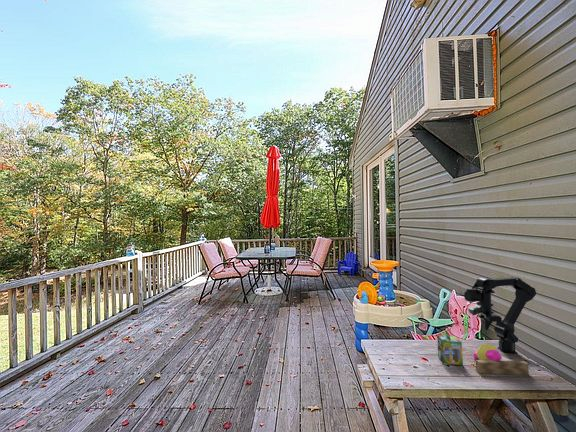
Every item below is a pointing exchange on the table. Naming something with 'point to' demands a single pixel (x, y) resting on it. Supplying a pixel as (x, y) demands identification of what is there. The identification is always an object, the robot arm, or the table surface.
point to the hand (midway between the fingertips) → (486, 329)
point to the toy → (487, 353)
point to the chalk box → (449, 349)
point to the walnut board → (502, 367)
